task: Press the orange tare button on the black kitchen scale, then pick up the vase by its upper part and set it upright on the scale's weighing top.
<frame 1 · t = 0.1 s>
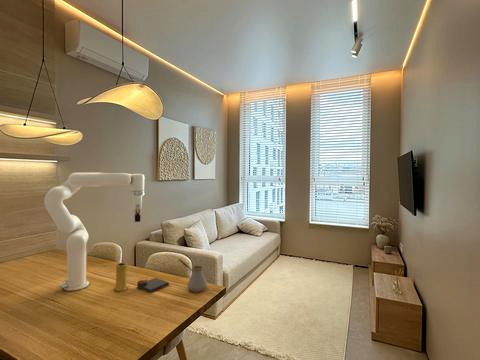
hand: (137, 220, 165), 37 cm above the table, tool pointing down, fingers open, 9 cm apart
tare button: (142, 280, 154), point 4 cm above the table, slide at 0.2 cm
vase: (121, 289, 151), on the table
scale: (153, 286, 155), on the table
coffee pot: (191, 287, 155), on the table
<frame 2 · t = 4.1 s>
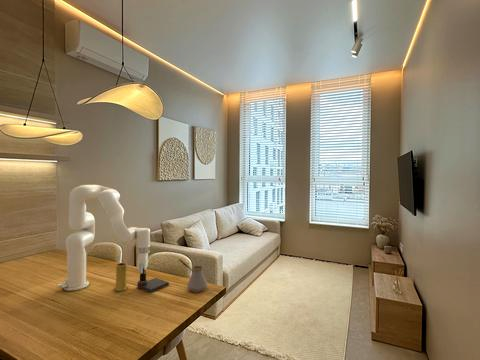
hand: (142, 280, 154), 4 cm above the table, tool pointing down, fingers closed
tare button: (142, 282, 154), point 3 cm above the table, slide at -0.6 cm, touching gripper
everything else where it was.
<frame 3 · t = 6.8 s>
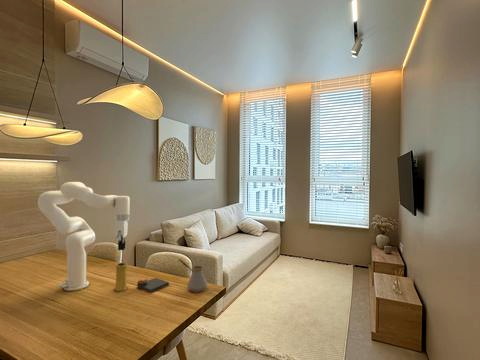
hand: (121, 249, 151), 23 cm above the table, tool pointing down, fingers closed
tare button: (142, 280, 154), point 4 cm above the table, slide at 0.2 cm
everything else where it was.
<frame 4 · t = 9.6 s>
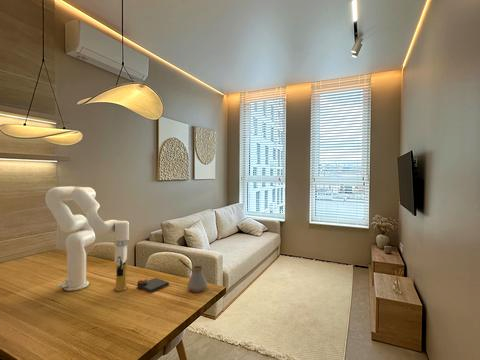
hand: (121, 273, 151), 9 cm above the table, tool pointing down, fingers closed on vase, 5 cm apart
vase: (121, 289, 151), on the table, touching gripper
everything else where it was.
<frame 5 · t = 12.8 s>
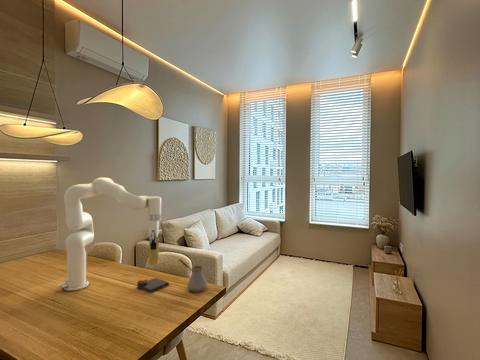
hand: (154, 247, 155), 23 cm above the table, tool pointing down, fingers closed on vase, 5 cm apart
vase: (153, 262, 155), point 14 cm above the table, touching gripper
everything else where it was.
when the fingers open (11 cm above the table, at t = 16.1 s): vase stays where it is, resting on scale.
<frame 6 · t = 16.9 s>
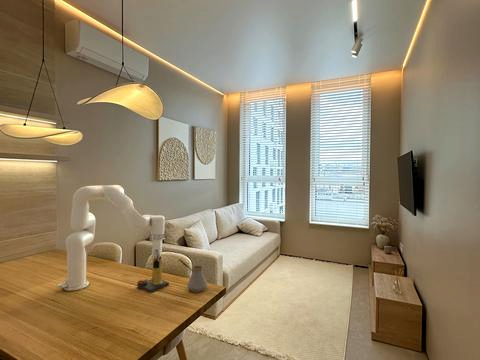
hand: (157, 265, 155), 13 cm above the table, tool pointing down, fingers open, 9 cm apart
vase: (156, 283, 156), point 2 cm above the table, touching scale
everything else where it was.
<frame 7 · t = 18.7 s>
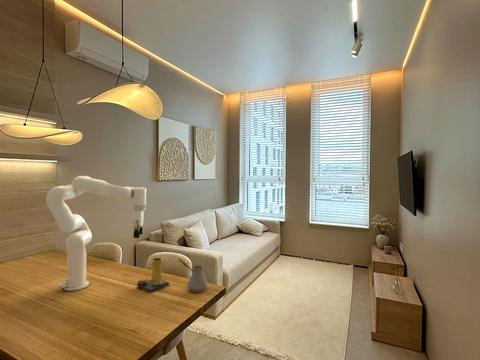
hand: (138, 236, 159), 29 cm above the table, tool pointing down, fingers open, 9 cm apart
nothing on the table moved.
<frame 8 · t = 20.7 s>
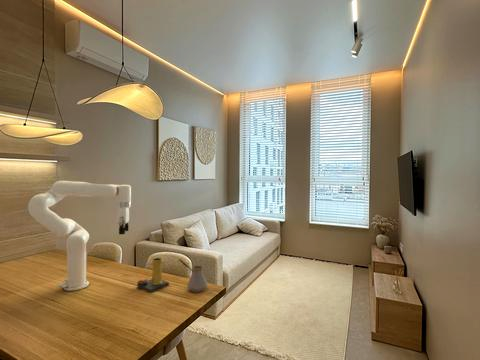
hand: (123, 232, 162), 30 cm above the table, tool pointing down, fingers open, 9 cm apart
nothing on the table moved.
at the end: tare button pushed in 0.9 cm at the most during the clip, back to 0.2 cm at the end; vase inside the target area on the scale (0.3 cm from its centre), point 1.7 cm above the scale's base; vase touching scale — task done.
